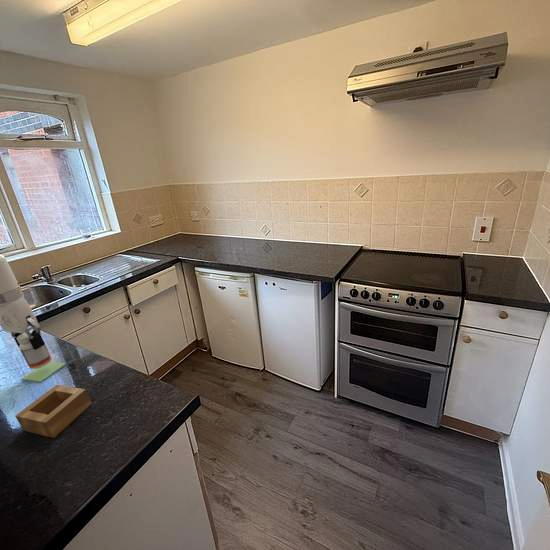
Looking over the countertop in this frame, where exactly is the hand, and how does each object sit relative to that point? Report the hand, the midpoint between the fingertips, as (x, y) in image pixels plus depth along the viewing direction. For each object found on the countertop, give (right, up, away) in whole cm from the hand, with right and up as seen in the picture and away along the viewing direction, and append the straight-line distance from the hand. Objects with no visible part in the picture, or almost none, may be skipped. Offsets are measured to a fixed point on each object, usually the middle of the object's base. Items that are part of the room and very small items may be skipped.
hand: (32, 346), depth 95 cm
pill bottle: (+1, -7, +3) cm, 7 cm away
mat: (+1, -9, +4) cm, 10 cm away
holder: (+21, -15, -17) cm, 30 cm away
